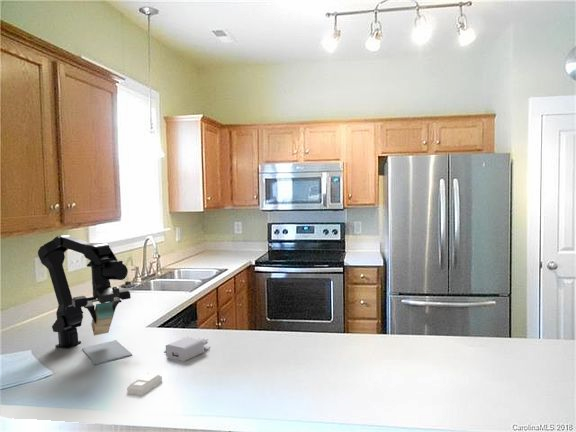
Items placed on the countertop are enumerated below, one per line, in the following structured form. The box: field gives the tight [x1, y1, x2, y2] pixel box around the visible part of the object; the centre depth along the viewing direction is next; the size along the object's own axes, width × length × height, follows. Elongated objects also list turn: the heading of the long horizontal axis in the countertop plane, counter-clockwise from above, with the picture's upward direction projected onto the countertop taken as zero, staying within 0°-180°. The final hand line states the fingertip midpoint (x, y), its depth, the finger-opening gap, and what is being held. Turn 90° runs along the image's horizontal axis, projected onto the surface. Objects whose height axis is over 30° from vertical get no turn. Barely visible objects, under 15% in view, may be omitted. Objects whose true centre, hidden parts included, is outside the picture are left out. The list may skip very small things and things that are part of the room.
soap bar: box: [126, 373, 163, 396], centre depth 120 cm, size 5×9×3 cm, turn 160°
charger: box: [165, 336, 209, 362], centre depth 147 cm, size 5×9×15 cm
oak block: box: [90, 302, 115, 336], centre depth 153 cm, size 5×5×13 cm
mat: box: [81, 340, 133, 366], centre depth 150 cm, size 20×12×1 cm, turn 37°
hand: (103, 321), depth 152 cm, fingers closed on oak block, 5 cm apart
